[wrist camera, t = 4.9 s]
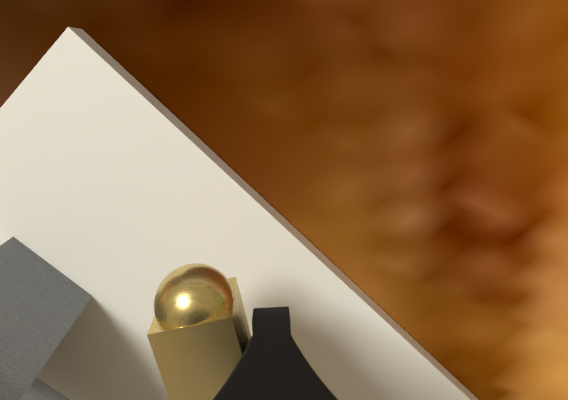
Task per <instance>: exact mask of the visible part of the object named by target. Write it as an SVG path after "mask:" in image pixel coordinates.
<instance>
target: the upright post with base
mask: <svg viewBox="0 0 568 400" xmlns="http://www.w3.org/2000/svg"><path fill="white" fill-rule="evenodd" d="M21 400H69V399H68V398H66V397H65V396H63V395H62V394H60V393H59V392H57V391H56V390H54V389H53V388H51V387H50V386H48V385H47V384H45V383H44V382H42V381H41V380H39V379H38V378H35V379H34V381H33V382H32V384H31V385H30V387H29V388H28V390H27V391H26V392H25V394H24V395H23V397H22V398H21Z"/></svg>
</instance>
